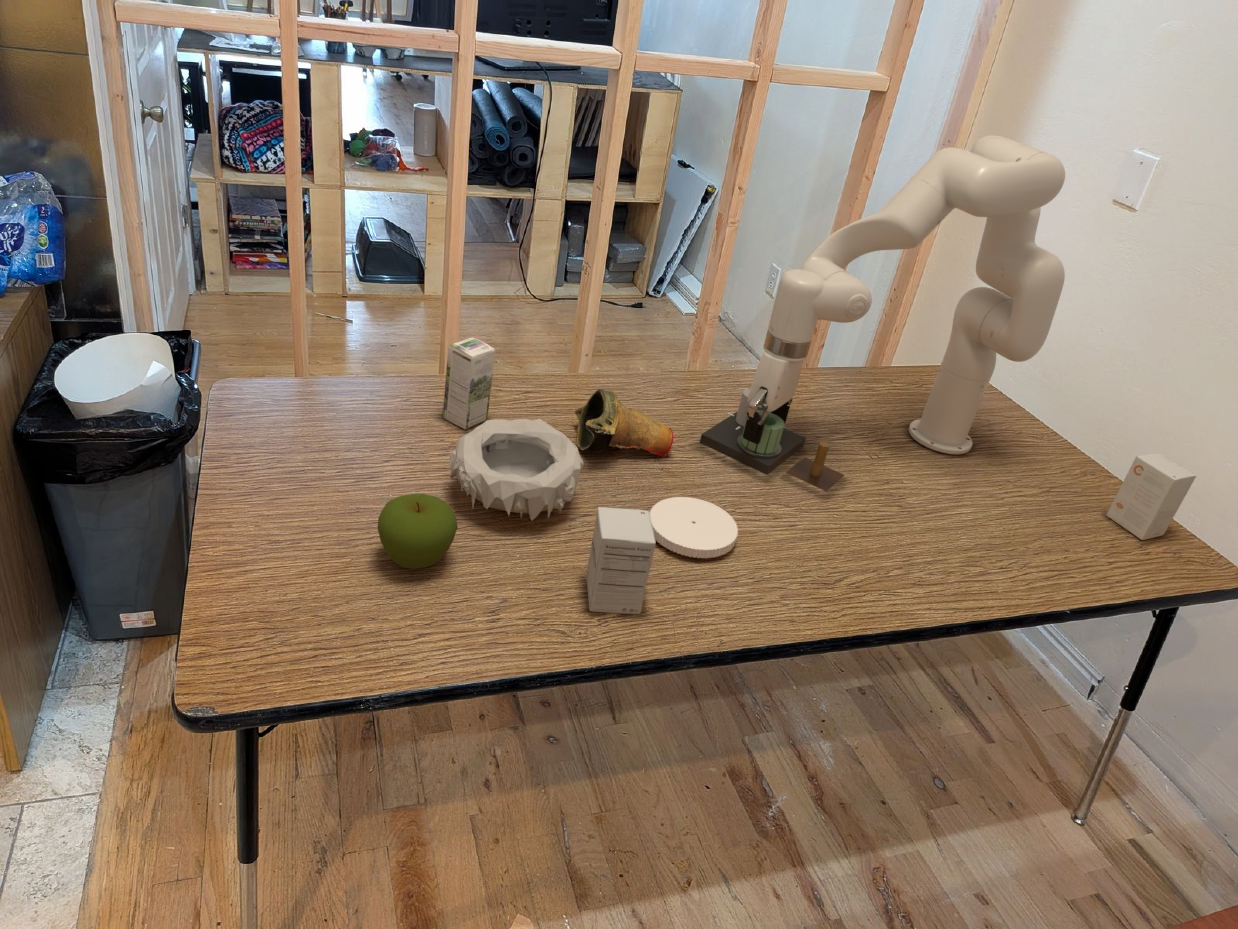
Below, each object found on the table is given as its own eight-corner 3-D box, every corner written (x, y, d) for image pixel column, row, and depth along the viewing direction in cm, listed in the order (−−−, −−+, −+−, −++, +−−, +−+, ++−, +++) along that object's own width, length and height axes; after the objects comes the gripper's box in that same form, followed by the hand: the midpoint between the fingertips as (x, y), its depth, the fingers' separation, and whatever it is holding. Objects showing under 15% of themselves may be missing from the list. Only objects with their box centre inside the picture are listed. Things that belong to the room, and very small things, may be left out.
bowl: (601, 492, 150) (610, 439, 145) (540, 555, 133) (548, 498, 128) (492, 449, 156) (497, 397, 151) (421, 504, 139) (424, 448, 134)
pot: (696, 427, 155) (602, 390, 148) (671, 488, 156) (576, 455, 150) (661, 408, 171) (574, 374, 164) (638, 464, 172) (551, 433, 166)
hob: (734, 420, 179) (738, 405, 178) (802, 451, 173) (806, 436, 171) (694, 446, 168) (697, 431, 166) (765, 480, 161) (769, 465, 160)
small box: (1163, 536, 167) (1198, 475, 160) (1141, 541, 164) (1175, 480, 157) (1126, 510, 173) (1158, 451, 166) (1104, 515, 170) (1135, 455, 163)
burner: (750, 430, 170) (750, 428, 170) (788, 448, 166) (789, 445, 166) (728, 445, 164) (729, 442, 164) (768, 463, 160) (768, 460, 160)
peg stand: (803, 462, 169) (813, 428, 165) (842, 480, 166) (854, 446, 162) (784, 477, 163) (794, 442, 159) (824, 497, 160) (836, 461, 156)
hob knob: (731, 421, 172) (738, 391, 169) (742, 414, 175) (750, 384, 172) (751, 430, 170) (759, 400, 167) (762, 423, 173) (770, 393, 170)
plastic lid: (745, 564, 139) (749, 551, 138) (655, 562, 136) (658, 549, 135) (721, 511, 151) (725, 498, 150) (638, 508, 148) (641, 495, 146)
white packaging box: (584, 577, 131) (597, 504, 124) (635, 581, 132) (651, 509, 125) (587, 612, 124) (600, 537, 118) (641, 616, 125) (657, 542, 119)
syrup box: (464, 408, 166) (470, 335, 159) (488, 421, 164) (496, 347, 156) (442, 418, 162) (446, 343, 155) (466, 431, 160) (472, 356, 152)
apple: (417, 596, 122) (420, 535, 117) (359, 562, 126) (359, 502, 121) (470, 559, 130) (475, 501, 125) (414, 528, 134) (417, 470, 129)
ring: (752, 430, 169) (758, 406, 166) (783, 445, 166) (790, 421, 163) (734, 442, 164) (740, 418, 161) (766, 457, 161) (773, 433, 158)
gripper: (790, 323, 163) (767, 408, 172) (743, 349, 150) (721, 439, 159) (828, 338, 159) (803, 424, 168) (784, 366, 147) (759, 457, 156)
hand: (763, 431), depth 164 cm, fingers open, 9 cm apart
